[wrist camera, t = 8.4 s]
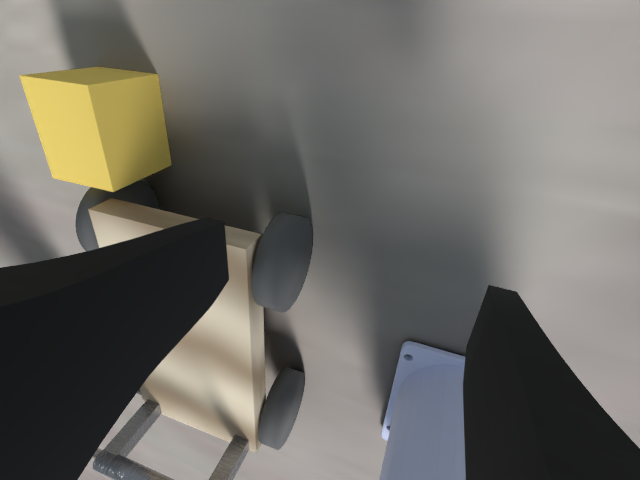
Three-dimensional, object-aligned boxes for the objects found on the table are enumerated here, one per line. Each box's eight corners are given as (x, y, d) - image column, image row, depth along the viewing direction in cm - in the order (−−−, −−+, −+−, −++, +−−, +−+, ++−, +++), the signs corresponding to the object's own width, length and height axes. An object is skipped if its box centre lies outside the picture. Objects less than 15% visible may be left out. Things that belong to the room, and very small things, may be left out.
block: (172, 164, 22) (113, 192, 19) (118, 153, 23) (52, 177, 20) (159, 74, 20) (87, 85, 16) (99, 66, 21) (19, 75, 17)
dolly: (303, 403, 29) (237, 547, 21) (168, 354, 32) (67, 464, 24) (315, 202, 20) (209, 318, 12) (128, 163, 23) (-52, 235, 15)
